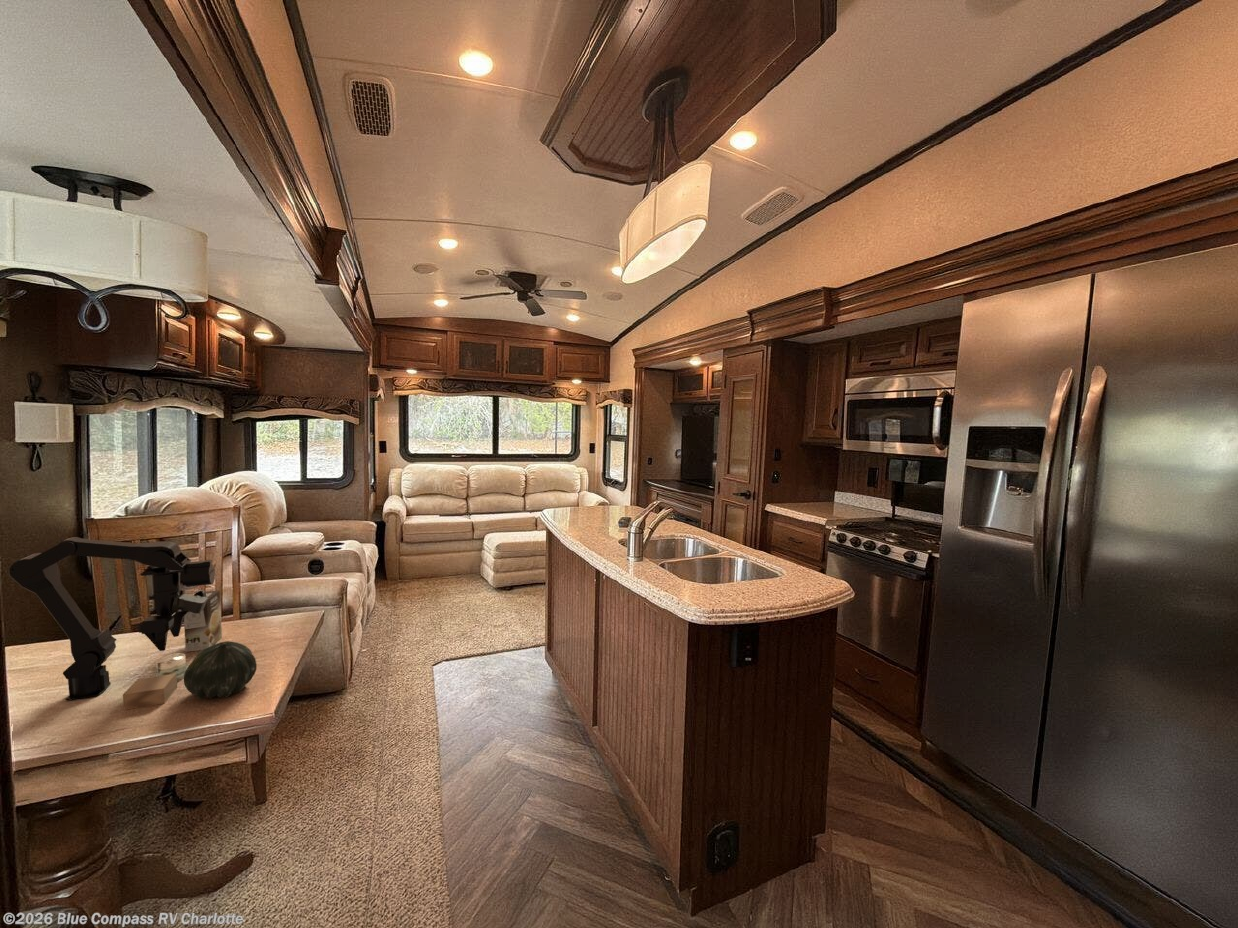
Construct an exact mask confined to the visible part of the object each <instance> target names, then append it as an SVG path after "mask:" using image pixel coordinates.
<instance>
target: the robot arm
mask: <svg viewBox="0 0 1238 928" xmlns="http://www.w3.org/2000/svg"><path fill="white" fill-rule="evenodd" d="M181 550H182V549H181V547H180V545H178V543H176V542H174V541H171V540H169V541H168V540H167V541H165V540H163V541H152V542H151V541H150V542H142V543H137V542H136V543H135V542H125V541H124V542H123V541H115V540H114V541H112V540H104V539H103V540H101V539H91V538H81V537H79V536H74V537H73V536H72V537H69V538H66V539H64V540H62V541H60V542H58V544H57V545H55V546H52V547H51V548H49V549H46V550H45V551H43V552H36V553H32V554H30V555H28V556H26V557H23V558H21V559H19V560H17V561H15V562H14V563H12V564H11V565H10V567H9V570H8V575H9V578H11V579H12V580H13V581H14V582H15V583H17V585H19V586H20V587H21V588H23V589H26V590H28V591H29V592H31V593H34V595H36V596H37V598H38V599H39V600H40V602H41V603H42V604H43V605H44V607H45V608H46V609H47V611H48V613H49V614H50V615H51V617H53V619H54V621H55V622H56V623H57V624H58V626H59V627H60V629H61V630H62V631H63V632H64V634H65V635H66V636H67V638H68V639H69V641H70V653H71V655H72V656H71V657H72V658H73V661H74V662H73V663H72V664H71V665H69V666H68V667H67V668H66V669H65V670H64V671H62V674H63V676H64V677H65V679H66V680H67V684H68V696H67V697H65V701H66V702H67V701H72V700H80V699H86V698H87V699H88V698H93V697H98V696H100V695H101V694H102V693H103V692H104V691H105V690H106V689H108V687H110V686H111V685H112V683H111V682H110V672H109V670H107V666H106V664H104V663H106V661H107V660H108V658H109V657H110V656H111V655H113V653H114V652H115V650H116V649H117V648H116V647H117V645H116V641H117V638H115V637H113V634H111V631H110V629H109V628H105V629H104V630H99V629H98V628H94V627H95V626H93V625H92V624H91V622H90V620H88V618H87V616H86V615H85V614H84V612H83V611H82V609H80V607H79V606H78V604H77V603H76V602H75V600H74V599H73V597H72V596H71V594H70V593H69V591H68V590H67V589H66V588H65V586H64V585H63V584H62V581H61V570H60V567H59V564H58V563H60V562H61V561H63V560H65V559H67V558H69V557H71V556H77V557H89V558H90V557H91V558H101V559H102V558H103V559H105V558H106V559H113V560H114V559H116V560H128V561H132V562H133V561H134V562H137V563H138V564H139V563H140V564H141V565H145V566H147V567H146V569H144V570H143V571H142V572H140V576H142V577H144V576H150V577H151V578H150V579H151V580H150V581H151V591H152V592H151V594H150V595H149V597H148V599H149V601H151V600H152V608H151V610H150V611H149V613H150V614H149V615H151V616H148V617H146V618H145V619H144V620H142V621H141V622H140V623H139V624H138V625H137V631H138V633H141V634H142V635H145V636H146V638H147V639H148V640H149V641H150V642H152V644H153V645H154V646H155V647H156V649H157V650H158V651H159V652H164V651H166V646H167V642H168V641H167V640H168V633H169V632H170V633H171V635H172V637H179V635H180V632H181V629H182V625H183V623H184V616H185V614H187V613H188V612H192V613H195V614H198V613H200V612H201V611H202V610H203V609H204V607H205V604H206V602H207V601H208V596H206V593H205V592H206V590H202V589H199V590H197V591H196V592H195V593H190V594H189V593H185V589H184V588H183V587H182V588H181V584H182V586H185V587H187V588H188V587H197V586H209V585H213V584H214V583H215V578H216V569H215V567H214V564H213V562H212V559H207V560H206V559H205V560H200V561H192V560H191V559H190V558H189V557H188V556H186V554H184V553H183V552H182V551H181Z"/></svg>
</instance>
